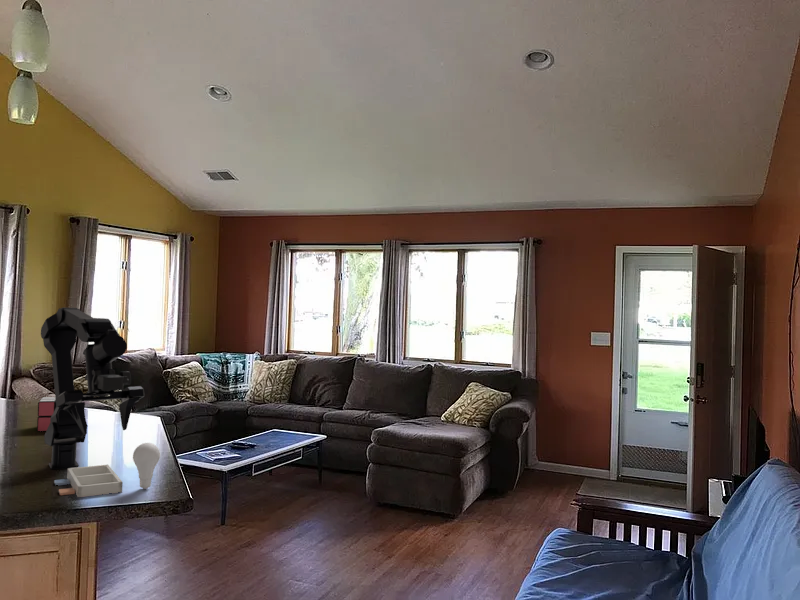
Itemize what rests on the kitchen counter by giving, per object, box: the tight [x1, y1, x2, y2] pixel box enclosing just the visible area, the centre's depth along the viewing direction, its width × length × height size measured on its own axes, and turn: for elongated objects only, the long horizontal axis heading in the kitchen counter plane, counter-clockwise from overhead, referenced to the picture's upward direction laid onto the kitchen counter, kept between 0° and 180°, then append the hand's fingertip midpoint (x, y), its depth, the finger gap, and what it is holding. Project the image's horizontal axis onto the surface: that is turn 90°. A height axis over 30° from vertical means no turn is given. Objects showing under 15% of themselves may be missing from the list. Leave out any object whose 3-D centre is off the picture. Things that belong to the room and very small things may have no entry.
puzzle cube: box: [36, 396, 56, 433], centre depth 223 cm, size 10×10×10 cm
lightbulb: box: [132, 442, 161, 490], centre depth 159 cm, size 6×6×11 cm
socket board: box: [53, 464, 123, 498], centre depth 159 cm, size 18×13×2 cm
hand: (105, 432), depth 158 cm, fingers open, 9 cm apart
